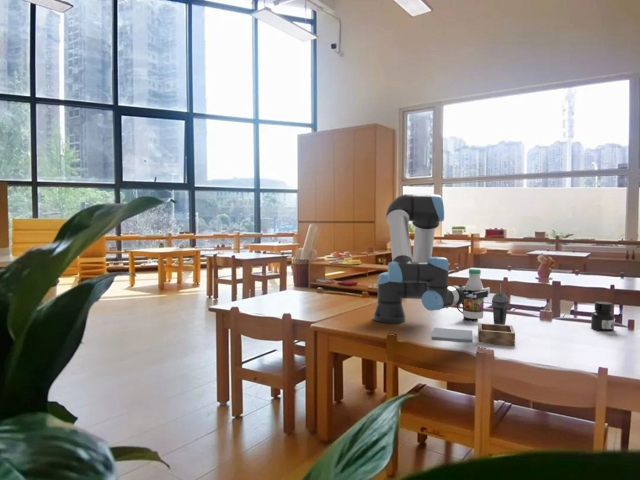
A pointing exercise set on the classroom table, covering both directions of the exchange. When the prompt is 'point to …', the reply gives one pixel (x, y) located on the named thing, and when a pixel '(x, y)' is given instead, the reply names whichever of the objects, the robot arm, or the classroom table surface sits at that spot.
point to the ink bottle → (602, 316)
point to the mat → (452, 335)
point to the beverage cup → (500, 307)
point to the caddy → (496, 334)
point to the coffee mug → (463, 313)
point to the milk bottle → (471, 306)
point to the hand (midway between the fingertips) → (479, 289)
